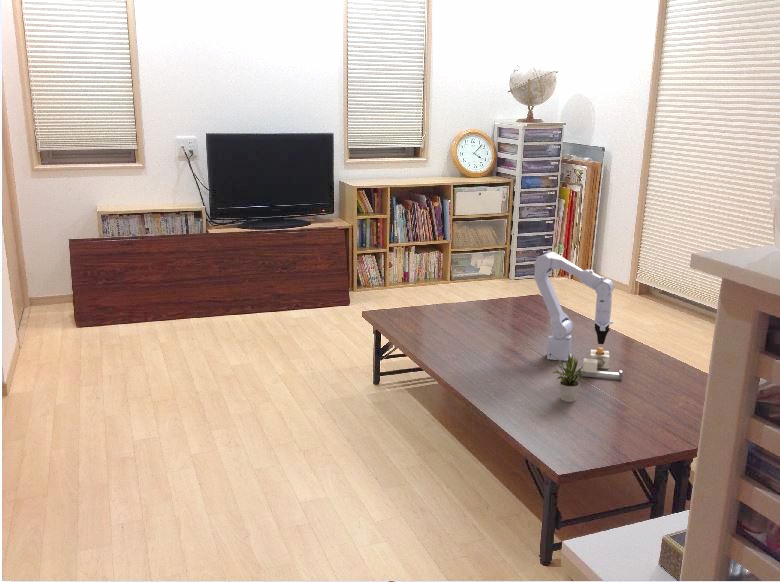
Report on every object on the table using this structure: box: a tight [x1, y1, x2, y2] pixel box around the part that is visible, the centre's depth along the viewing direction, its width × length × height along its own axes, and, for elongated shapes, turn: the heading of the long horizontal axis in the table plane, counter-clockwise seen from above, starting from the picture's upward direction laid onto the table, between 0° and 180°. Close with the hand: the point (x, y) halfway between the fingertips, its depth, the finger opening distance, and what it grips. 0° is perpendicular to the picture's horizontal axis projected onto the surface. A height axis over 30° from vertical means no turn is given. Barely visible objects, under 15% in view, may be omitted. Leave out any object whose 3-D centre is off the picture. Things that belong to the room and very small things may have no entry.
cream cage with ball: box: [589, 349, 610, 369], centre depth 282 cm, size 7×7×5 cm
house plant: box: [551, 352, 586, 403], centre depth 250 cm, size 14×14×16 cm
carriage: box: [582, 357, 598, 378], centre depth 271 cm, size 5×4×6 cm
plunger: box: [596, 346, 604, 354], centre depth 282 cm, size 2×2×2 cm
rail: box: [577, 365, 623, 381], centre depth 271 cm, size 16×3×3 cm, turn 75°
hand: (600, 342), depth 281 cm, fingers closed
